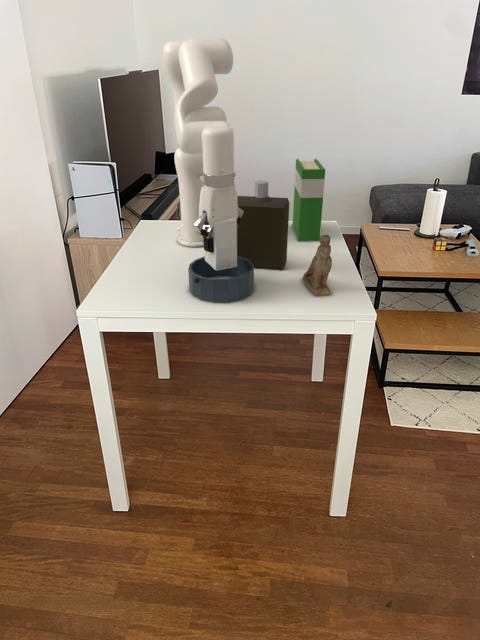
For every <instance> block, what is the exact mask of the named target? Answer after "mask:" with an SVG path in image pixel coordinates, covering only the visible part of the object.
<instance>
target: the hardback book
mask: <svg viewBox="0 0 480 640" xmlns="http://www.w3.org/2000/svg"><path fill="white" fill-rule="evenodd" d="M294 170H295V171H294V172H295V173H294V186H293V187H294V189H293V190H294V191H293V209H292V228H293V231H294V234H295V236H296V239H297V241H298V242H320V238H321V228H322V219H323V218H322V217H323V205H324V204H323V203H324V194H325V193H324V191H325V180H326V168H325V167H324V166H323V165H322V164H321V162H320V161H319V160H318V159H317V158H313V160H312V161H311V160H308V161H304V160H303V161H301V160H300V159H299V158H296V159H295V169H294Z"/></svg>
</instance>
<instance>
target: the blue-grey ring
mask: <svg viewBox="0 0 480 640" xmlns="http://www.w3.org/2000/svg"><path fill="white" fill-rule="evenodd" d="M187 269H188V285H189V292H190V294H191V295H192V297H194V298H196V299H198V300H200V301H203V302H210V303H214V304H217V303H219V304H221V303H222V304H226V303H232V302H237V301H241V300H244V299H246V298H248V297H250V296H251V295H252V294H253V293H254V290H255V268H254V264H253V263H252V262H251V261H250V260H249V259H248V258H243V257H240V256H237V267H233V268H228V269H223V270H218V271H216V270H215V269H214V268H213V267H212V266H210V265H209V264H208V263H207V262H206V261H205V255H203V256H202V257H199V258H197V259H194V260H193V261H192V262H190V263H189V264H188V268H187ZM217 277H229V278H217Z"/></svg>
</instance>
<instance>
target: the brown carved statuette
mask: <svg viewBox="0 0 480 640" xmlns="http://www.w3.org/2000/svg"><path fill="white" fill-rule="evenodd" d="M330 243H331V236H330V235H329V234H323V235H322V236H320V241H319V245H318V246H317V249H316V252H315V255H314V256H313V257H312V260H311V262H310V264H309V267H308V268H307V270H306V271H305V272H304V273H303V275H302V282H303V283H304V284H305V287H306V288H307V289H308V290H309V291H310V292H311V294H312V295H313V296H315V297H321V296H331V289H330V287H329V286H328V285H327V282H328V277H329V275H330V272H331V270H332V266H333V259H332V256H331V252H332V247H331V244H330Z"/></svg>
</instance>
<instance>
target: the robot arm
mask: <svg viewBox="0 0 480 640" xmlns="http://www.w3.org/2000/svg"><path fill="white" fill-rule="evenodd" d="M162 62H163V67H164V71H165V74H166V76H167V79H168V82H169V84H170V86H171V91H172V95H173V104H174V105H173V107H174V112H173V124H174V130H175V136H176V141H177V146H178V148H177V149H176V150H175V151H174V154H173V156H174V159H173V160H174V165H175V170H176V177H177V180H178V181H177V182H178V193H179V205H180V220H181V223H180V225H179V226H177V227H176V230H177V231H178V232H180V235H179V236H178V238H177V242H178V243H179V244H180V245H181V246H185V247H192V248H194V247H195V248H198V247H203V250H205V251H208V252H210V253H212V252H213V251H214V248H213V238H212V237H211V236H212V234H213V228H214V223H216V222H219V221H222V220H225V219H229V218H232V217H233V218H234V219H236V220H237V229H238V224H239V223H240V221H241V217H242V215H243V213H244V211H243V210H242V209H240V208H239V207H238V199H237V197H238V192H237V186H236V184H235V177H236V172H235V132H234V128H233V127H232V126H231V124H230V123H229V122H228V118H227V115H226V113H225V111H224V109H223V108H221V107H219V106H207V105H208V104H210V103H211V102H213V101H214V100H215V99H216V98H217V95H218V92H219V86H218V83H217V78H216V75H228V74H230V73H231V71H232V70H233V65H234V53H233V49H232V47H231V45H230V42H228V41H227V40H226V39H224V38H190V39H180V40H179V39H178V40H172V41H169V42H167V43H166V44H165V45H164V46H163V47H162ZM200 177H203V180H202V179H201V178H200ZM208 228H209V231H208V232H207V230H208Z"/></svg>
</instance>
